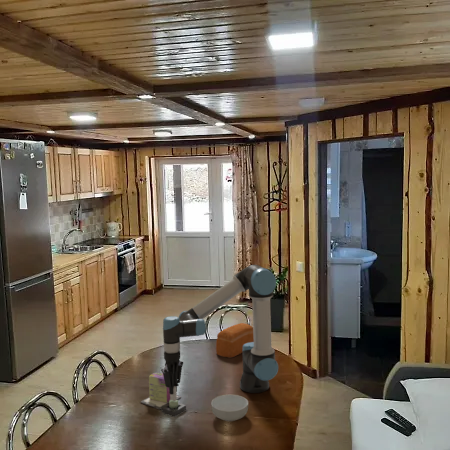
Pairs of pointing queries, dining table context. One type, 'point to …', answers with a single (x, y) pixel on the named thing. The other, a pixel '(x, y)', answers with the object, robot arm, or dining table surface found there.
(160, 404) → the clipboard
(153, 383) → the box
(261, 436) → the dining table surface
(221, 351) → the bread
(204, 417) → the dining table surface
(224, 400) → the cereal bowl
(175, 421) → the dining table surface
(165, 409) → the button housing
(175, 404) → the button
